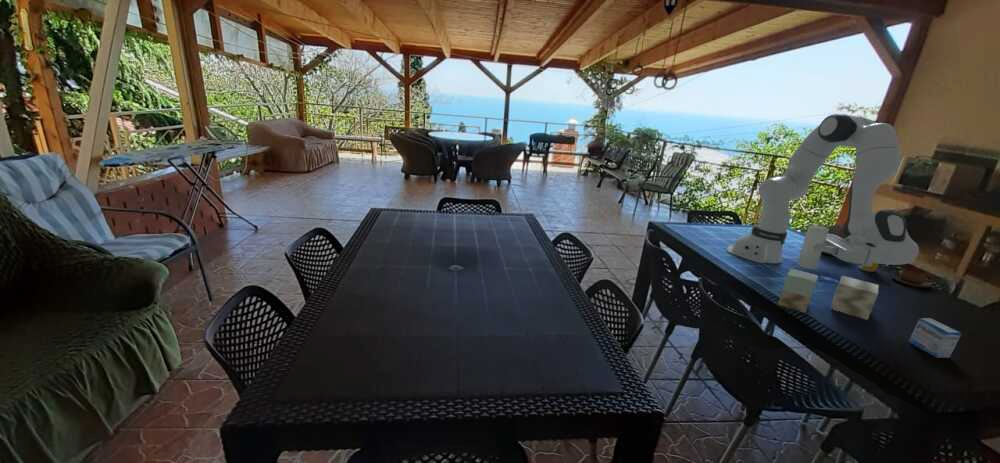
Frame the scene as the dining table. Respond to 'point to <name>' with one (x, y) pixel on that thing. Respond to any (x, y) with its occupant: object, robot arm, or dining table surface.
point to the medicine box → (934, 338)
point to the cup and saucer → (913, 277)
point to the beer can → (869, 267)
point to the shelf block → (855, 297)
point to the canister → (812, 246)
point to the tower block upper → (800, 282)
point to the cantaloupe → (835, 233)
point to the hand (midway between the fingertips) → (810, 244)
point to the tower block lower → (794, 301)
